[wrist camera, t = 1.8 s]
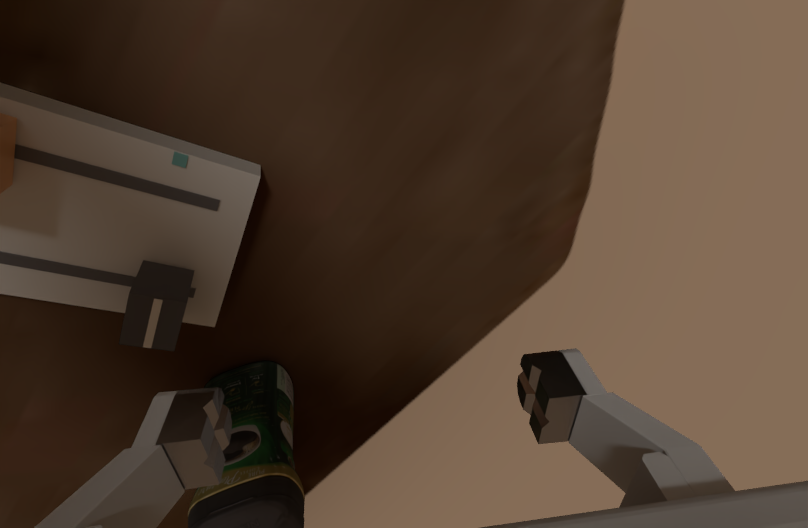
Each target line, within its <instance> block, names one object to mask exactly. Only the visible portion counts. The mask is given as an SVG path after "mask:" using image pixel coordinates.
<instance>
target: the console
mask: <svg viewBox="0 0 808 528" xmlns="http://www.w3.org/2000/svg"><path fill="white" fill-rule="evenodd" d="M0 113H2V114H5V115H9V116H12V117H16V118H17V128H16V141H15V155H14V169H13V183H12V185H11V186H10V187H9V188H7V189H6V190H5V191H3V192H2V193H1V194H0V294H5V295H12V296H18V297H24V298H31V299H37V300H44V301H50V302H56V303H63V304H69V305H75V306H82V307H88V308H95V309H101V310H107V311H114V312H120V313H125V310H126V305H127V301H128V296H129V292H130V290H131V287H132V285H133V283H134V280H135V278H136V276H137V274H138V271H139V269H140V267H141V264H142V262H143V260H146V261H151V262H155V263H160V264H165V265H170V266H175V267H180V268H185V269H190V270H195V271H194V275H193V280H192V284H191V288H190V293H189V297H188V301H187V305H186V309H185V313H184V316H183V320H182V322H184V323H191V324H197V325H203V326H210V327H215V325H216V321H217V318H218V315H219V312H220V308H221V305H222V302H223V298H224V295H225V292H226V289H227V285H228V282H229V279H230V276H231V272H232V269H233V266H234V262H235V259H236V256H237V253H238V249H239V246H240V243H241V240H242V236H243V233H244V230H245V226H246V223H247V220H248V217H249V213H250V210H251V207H252V204H253V200H254V197H255V194H256V190H257V187H258V184H259V181H260V177H261V165H259V164H255V163H252V162H249V161H246V160H243V159H240V158H237V157H233V156H230V155H227V154H224V153H221V152H218V151H215V150H211V149H208V148H205V147H202V146H199V145H196V144H193V143H189V142H186V141H183V140H180V139H177V138H174V137H171V136H167V135H164V134H161V133H158V132H155V131H152V130H148V129H145V128H142V127H139V126H136V125H133V124H130V123H126V122H123V121H120V120H117V119H114V118H111V117H108V116H104V115H101V114H98V113H95V112H92V111H89V110H86V109H82V108H79V107H76V106H73V105H70V104H67V103H64V102H60V101H57V100H54V99H51V98H48V97H45V96H42V95H38V94H35V93H32V92H29V91H26V90H23V89H20V88H16V87H13V86H10V85H7V84H4V83H1V82H0Z"/></svg>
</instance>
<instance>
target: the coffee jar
mask: <svg viewBox="0 0 808 528" xmlns="http://www.w3.org/2000/svg"><path fill="white" fill-rule="evenodd" d="M214 387H219V388H221V389H222V391H223V394H224V400H223V405H225V406H226V407H228V408H229V411H230V414H231V419H232V433H231V438H230V443H229V445H228V446H227V447H226V448H225V449H224V450H223V451H222V452H223V454H224V457H225V464H224V469H223V473H222V477H221V481H220V484H218V485H211V486H205V487H198V488H197V490H196V493H195V495H194V497H193V499H192V502H191V504H190V507H189V512H188V528H304V517H303V516H304V500H305V497H304V490H303V486H302V484H301V481H300V479H299V477H298V475H297V473H296V471H295V470H294V462H293V420H294V389H293V384H292V381H291V379H290V377H289V375H288V373H287V372H286V370H285V369H284V368H283V367H282V366H281V365H279V364H277V363H275V362H271V361H261V362H256V363H252V364H248V365H244V366H241V367H238V368H235V369H233V370H230V371H227V372H225V373H222V374H220V375H218V376H216V377H214V378H213V379H211V380H210V381H209V382H208V383H207V384H206V385H205V387H204V388H214Z"/></svg>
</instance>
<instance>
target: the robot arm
mask: <svg viewBox="0 0 808 528" xmlns="http://www.w3.org/2000/svg"><path fill="white" fill-rule="evenodd" d="M520 365H521V367H522V369H523V372H522V373H521V374H520V375H519V376H518V382H517V387H518V395H519V399H520V403H521V405H522V407H523V410H525V411H526V412H527V413H529V414H530V415H531V417H530V422H529V424H530V426H531V428H532V431H533V433H534V435H535V437H536V440H537V442H538V444H543V443H555V442H565V441H569V443H570V444H571V445H572V446H573V447H574V448H575V449H576V450H578V451H579V452H580V453H581V454H582V455H583V456H584V457H586V458H587V459H588V460H589V461H590V462H591V463H592V464H593V465H595V466H596V467H597V468H598V469H599V470H600V471H601V472H603V473H604V474H605V475H606V476H607V477H608V478H609V479H611V480H612V481H613V482H614V483H615V484H616V485H617V486H618V487H620V488H621V489H622V490H623V491H624V492H625V493H626V494H625V496H624V498H623V500H622V503H621V505H620V507H619V508H614V509H607V510H601V511H593V512H586V513H579V514H572V515H565V516H559V517H551V518H544V519H537V520H531V521H523V522H516V523H509V524H503V525H495V526H489V527H482V528H808V481H804V482H796V483H789V484H782V485H775V486H769V487H761V488H754V489H747V490H740V491H735V490H734V489H733V488H732V486H731V485H730V484H729V482H728V481H727V480H726V479H725V477H724V476H723V475H722V473H721V472H720V471H719V469H718V468H717V467H716V466H715V464H714V463H713V462H712V460H711V459H710V458H709V456H708V455H707V454H706V453H705V451H704V450H703V449H702V447H701V446H700V445H698V444H697V443H695V442H693V441H692V440H690V439H688V438H687V437H685V436H684V435H682V434H680V433H679V432H677V431H675V430H674V429H672V428H670V427H669V426H667V425H665V424H664V423H662V422H660V421H659V420H657V419H655V418H654V417H652V416H651V415H649V414H647V413H646V412H644V411H642V410H640V409H639V408H637V407H636V406H634V405H632V404H631V403H629V402H627V401H626V400H624V399H623V398H621V397H619V396H618V395H616V394H614V393H607V392H606V390H605V388H604V387H603V386H602V384H601V382H600V381H599V379H598V378H597V376H596V375H595V373H594V372H593V370H592V369H591V367H590V366H589V364H588V363H587V361H586V360H585V358H584V357H583V355H582V354H581V352H580V351H579V350H577V349H567V350H559V351H550V352H541V353H532V354H524V355H523V357H522V359H521V364H520ZM223 400H224V394H223V391H222V389H221V388H219V387H214V388H202V389H190V390H179V391H169V392H159V393H158V394H157V395H156V396H155V397H154V398H153V400H152V402H151V405H150V407H149V409H148V411H147V414H146V416H145V418H144V420H143V423H142V425H141V427H140V429H139V432H138V434H137V436H136V438H135V441H134V443H133V445H132V447H131V448H129V449H124V450H123V451H122V452H121V453H120V454H119V455H117V456H116V457H115V458H114V459H113V460H112V461H111V462H109V463H108V464H107V465H106V466H105V467H104V468H103V469H101V470H100V471H99V472H98V473H97V474H96V475H94V476H93V477H92V478H91V479H90V480H89V481H88V482H86V483H85V484H84V485H83V486H82V487H81V488H79V489H78V490H77V491H76V492H75V493H74V494H73V495H71V496H70V497H69V498H68V499H67V500H66V501H64V502H63V503H62V504H61V505H60V506H59V507H58V508H56V509H55V510H54V511H53V512H52V513H51V514H50V515H48V516H47V517H46V518H45V519H44V520H43V521H41V522H40V523H39V524H38V525H37V526H36V527H35V528H156V527H157V526H158V525H159V524H160V522H161V521H162V520H163V518H164V517H165V516H166V515H167V513H168V512H169V511H170V510H171V508H172V507H173V506H174V505H175V503H176V502H177V501H178V500H179V498H180V497H181V496H182V495H183V493H184V492H185V489H192V488H198V487H205V486H211V485H218V484H220V481H221V477H222V473H223V469H224V464H225V457H224V454H223V452H222V451H223V450H224V449H225V448H226V447H227V446H228V445H229V443H230V438H231V433H232V419H231V414H230V411H229V408H228V407H226V406H225V405H223Z"/></svg>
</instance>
